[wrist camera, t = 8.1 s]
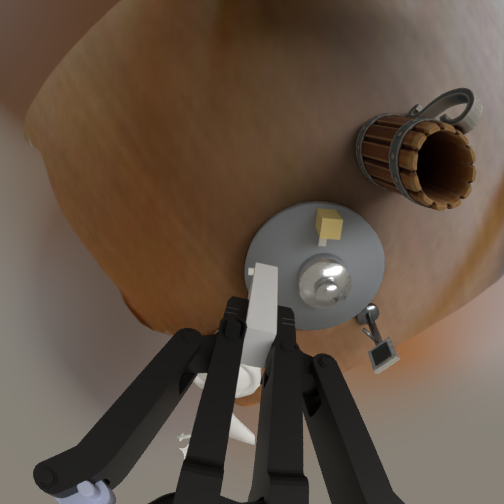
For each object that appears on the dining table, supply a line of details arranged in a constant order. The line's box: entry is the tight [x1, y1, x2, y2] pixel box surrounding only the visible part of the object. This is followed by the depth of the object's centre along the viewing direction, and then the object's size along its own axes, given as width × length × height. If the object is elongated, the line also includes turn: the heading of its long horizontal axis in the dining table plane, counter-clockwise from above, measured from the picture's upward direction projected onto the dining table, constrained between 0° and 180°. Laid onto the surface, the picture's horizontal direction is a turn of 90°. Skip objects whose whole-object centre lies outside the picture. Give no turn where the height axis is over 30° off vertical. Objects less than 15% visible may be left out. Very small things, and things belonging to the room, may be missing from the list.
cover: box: [298, 253, 352, 309], centre depth 35 cm, size 7×7×5 cm
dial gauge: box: [356, 303, 400, 374], centre depth 38 cm, size 7×4×12 cm, turn 48°
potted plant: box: [176, 329, 262, 460], centre depth 37 cm, size 13×12×25 cm
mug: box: [355, 88, 483, 211], centre depth 24 cm, size 16×11×15 cm
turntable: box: [244, 201, 385, 330], centre depth 36 cm, size 20×20×6 cm
